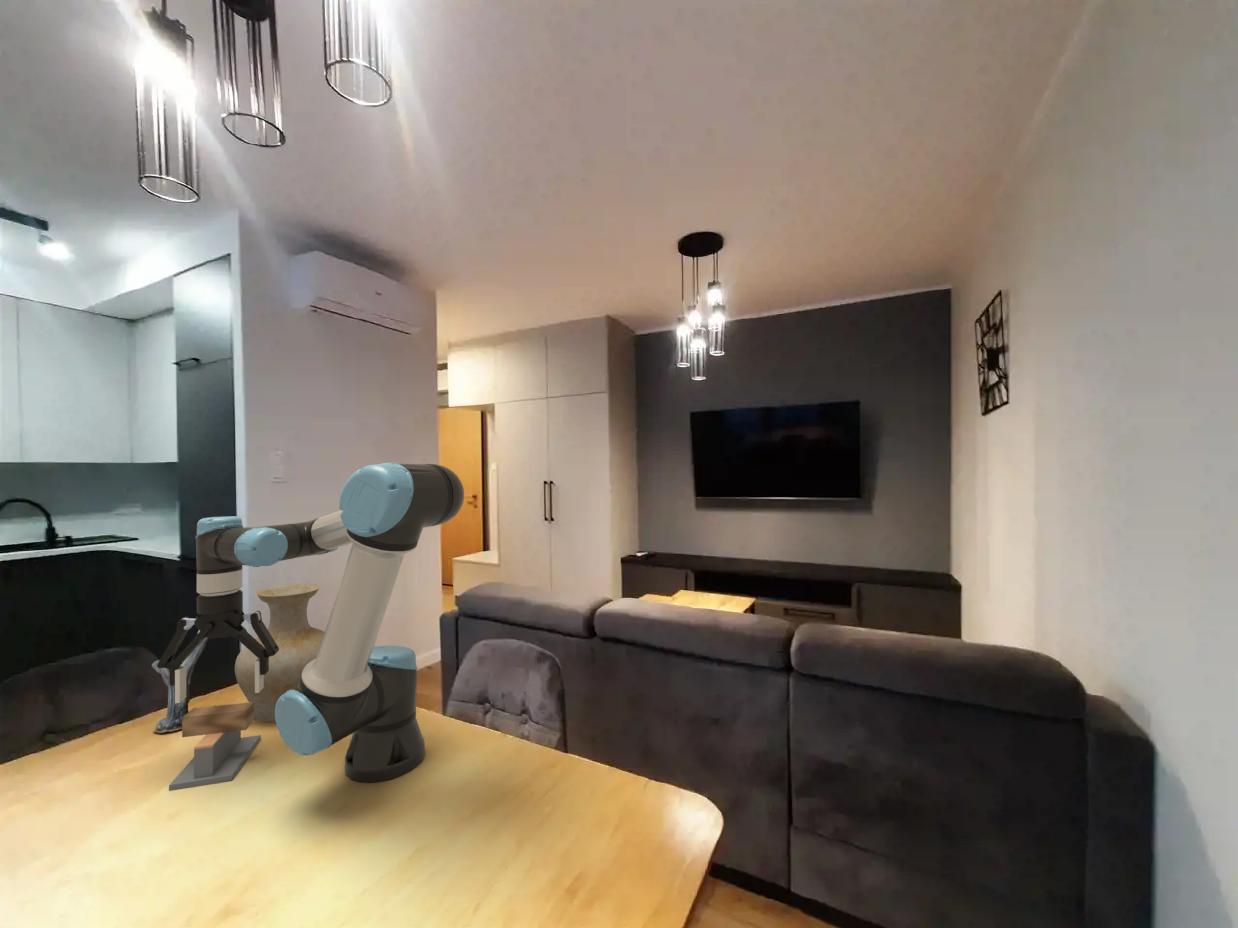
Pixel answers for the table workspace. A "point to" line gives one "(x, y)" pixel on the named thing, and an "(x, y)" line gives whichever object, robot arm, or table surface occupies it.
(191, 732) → the walnut bar
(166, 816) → the table surface
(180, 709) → the antler
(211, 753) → the ridge block
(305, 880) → the table surface
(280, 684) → the vase
